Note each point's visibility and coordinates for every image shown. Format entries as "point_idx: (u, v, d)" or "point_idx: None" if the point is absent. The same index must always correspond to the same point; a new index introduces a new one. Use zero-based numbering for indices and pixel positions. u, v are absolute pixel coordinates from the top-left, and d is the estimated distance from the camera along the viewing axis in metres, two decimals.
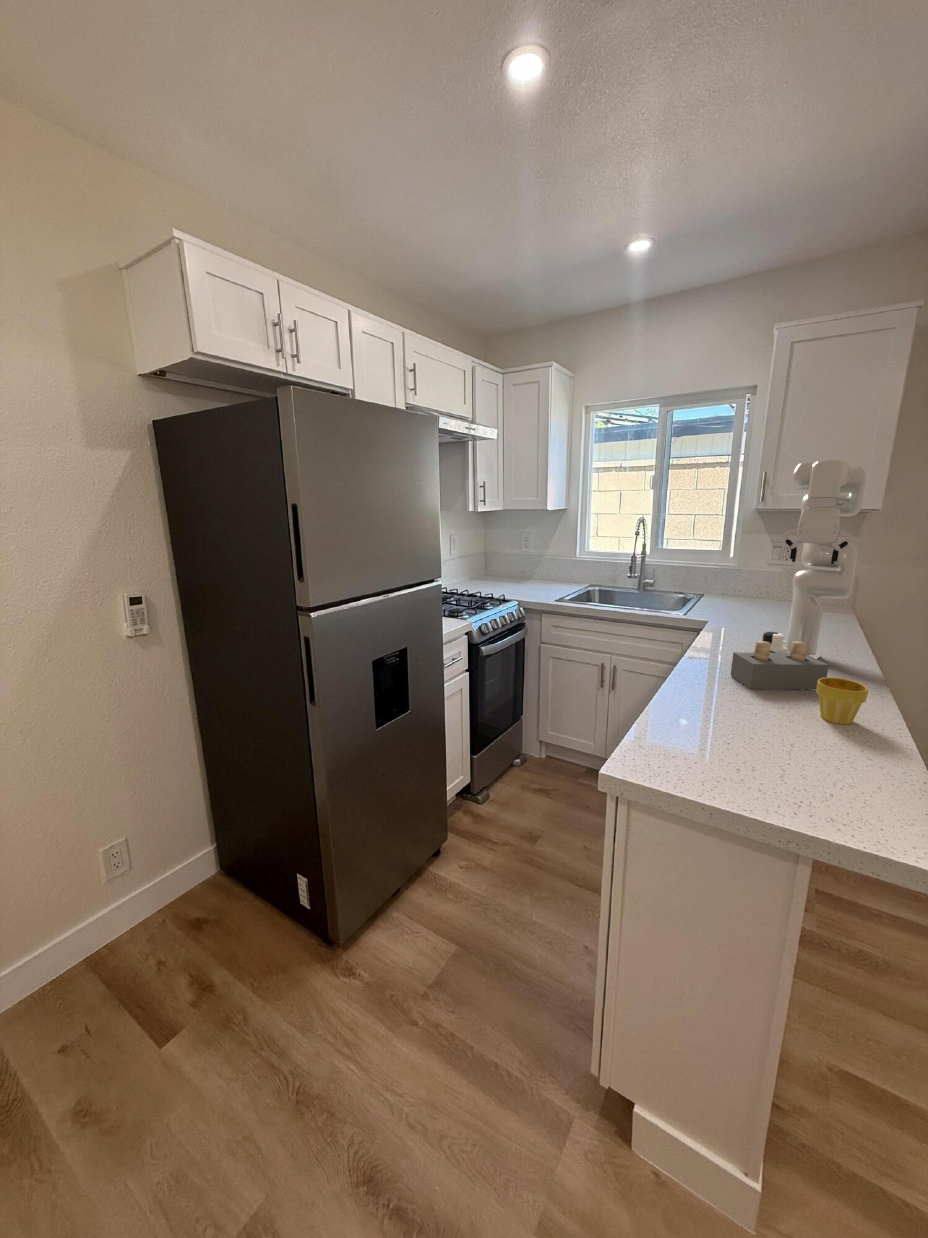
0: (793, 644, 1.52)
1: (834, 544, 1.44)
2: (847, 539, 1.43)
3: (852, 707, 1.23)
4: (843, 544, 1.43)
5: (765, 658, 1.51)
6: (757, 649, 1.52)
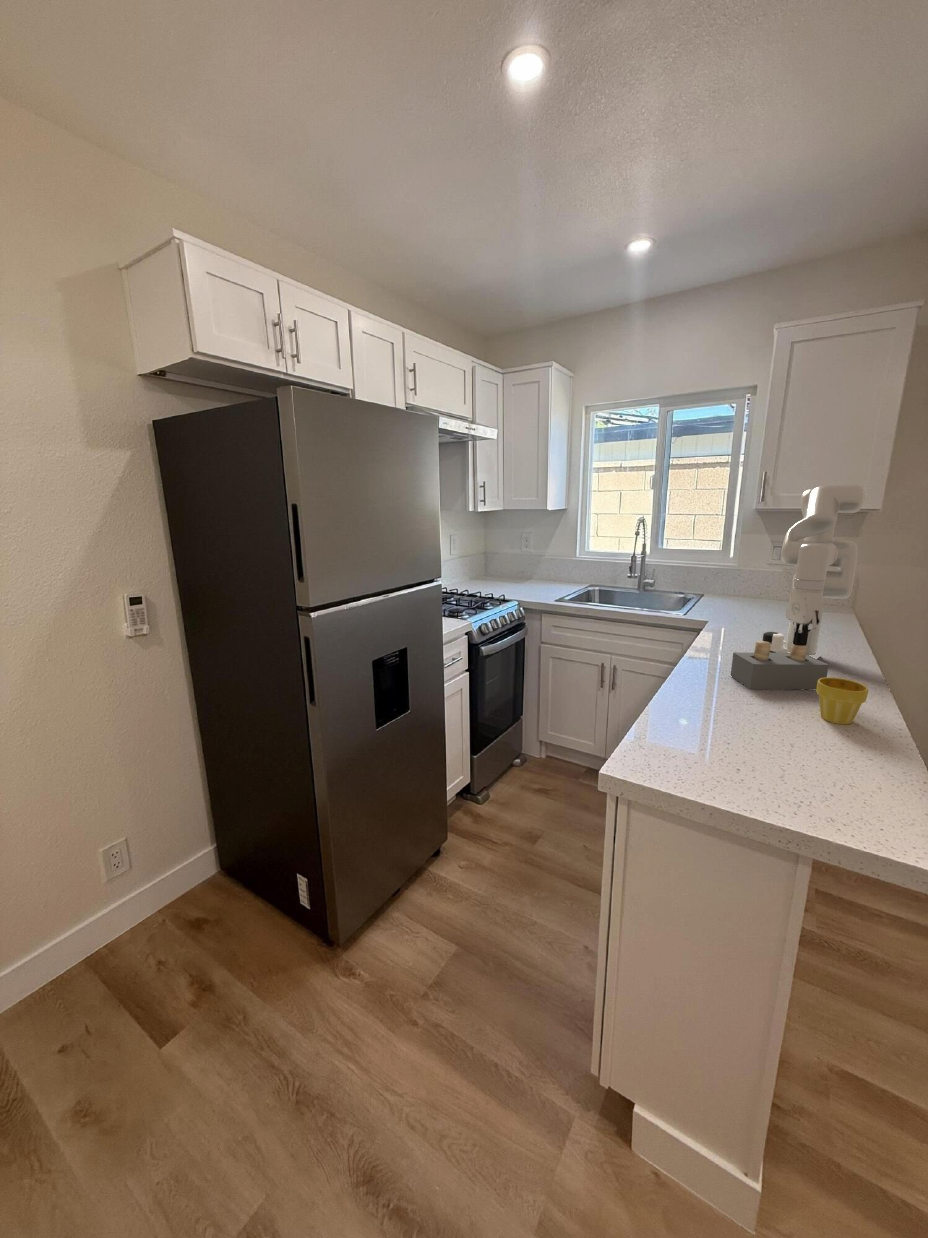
0: (793, 646, 1.52)
1: None
2: None
3: (852, 707, 1.23)
4: None
5: (765, 658, 1.51)
6: (757, 649, 1.52)
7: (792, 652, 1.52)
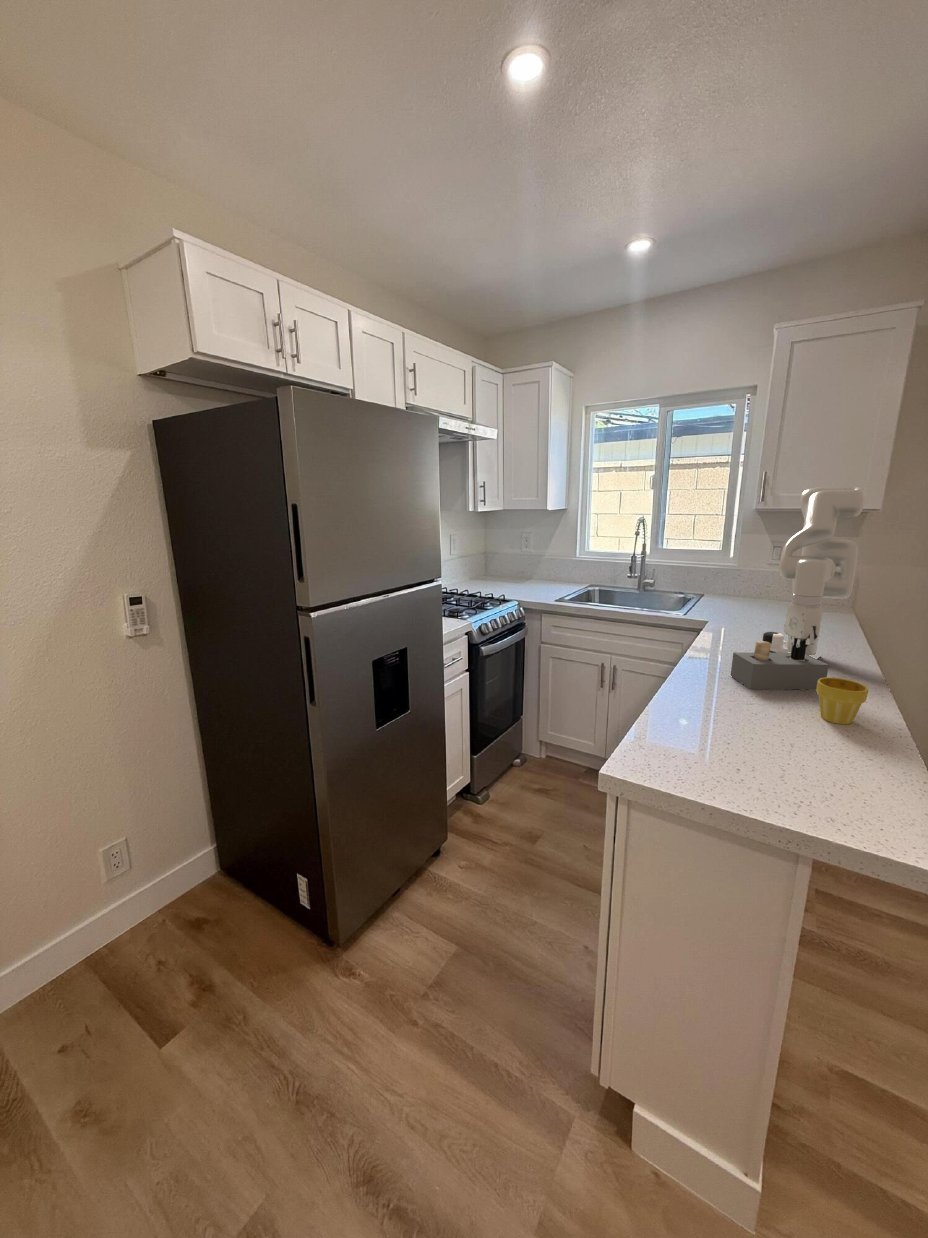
0: None
1: None
2: None
3: (852, 707, 1.23)
4: None
5: (765, 658, 1.51)
6: (757, 649, 1.52)
7: None
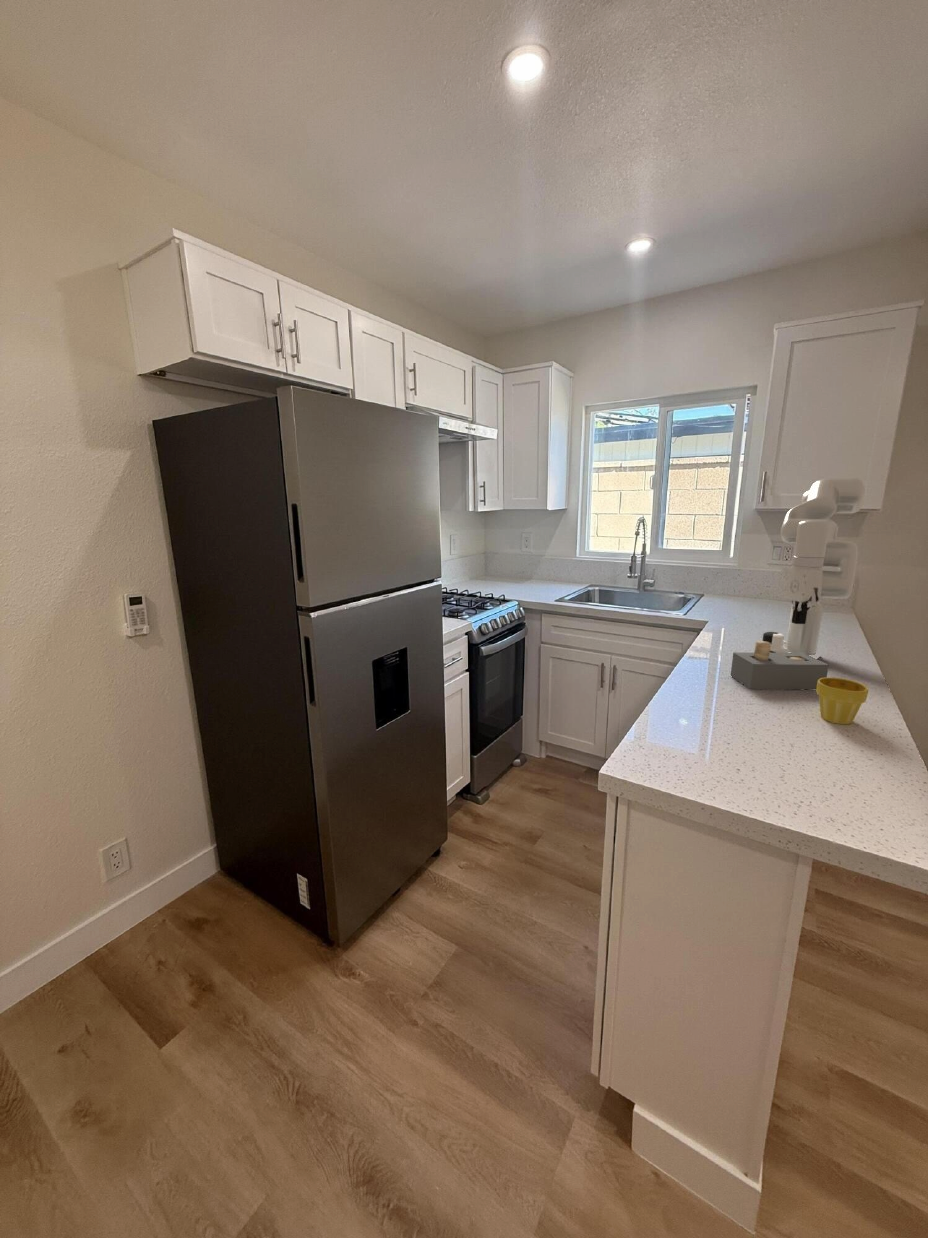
0: None
1: None
2: None
3: (852, 707, 1.23)
4: None
5: (765, 658, 1.51)
6: (757, 649, 1.52)
7: None
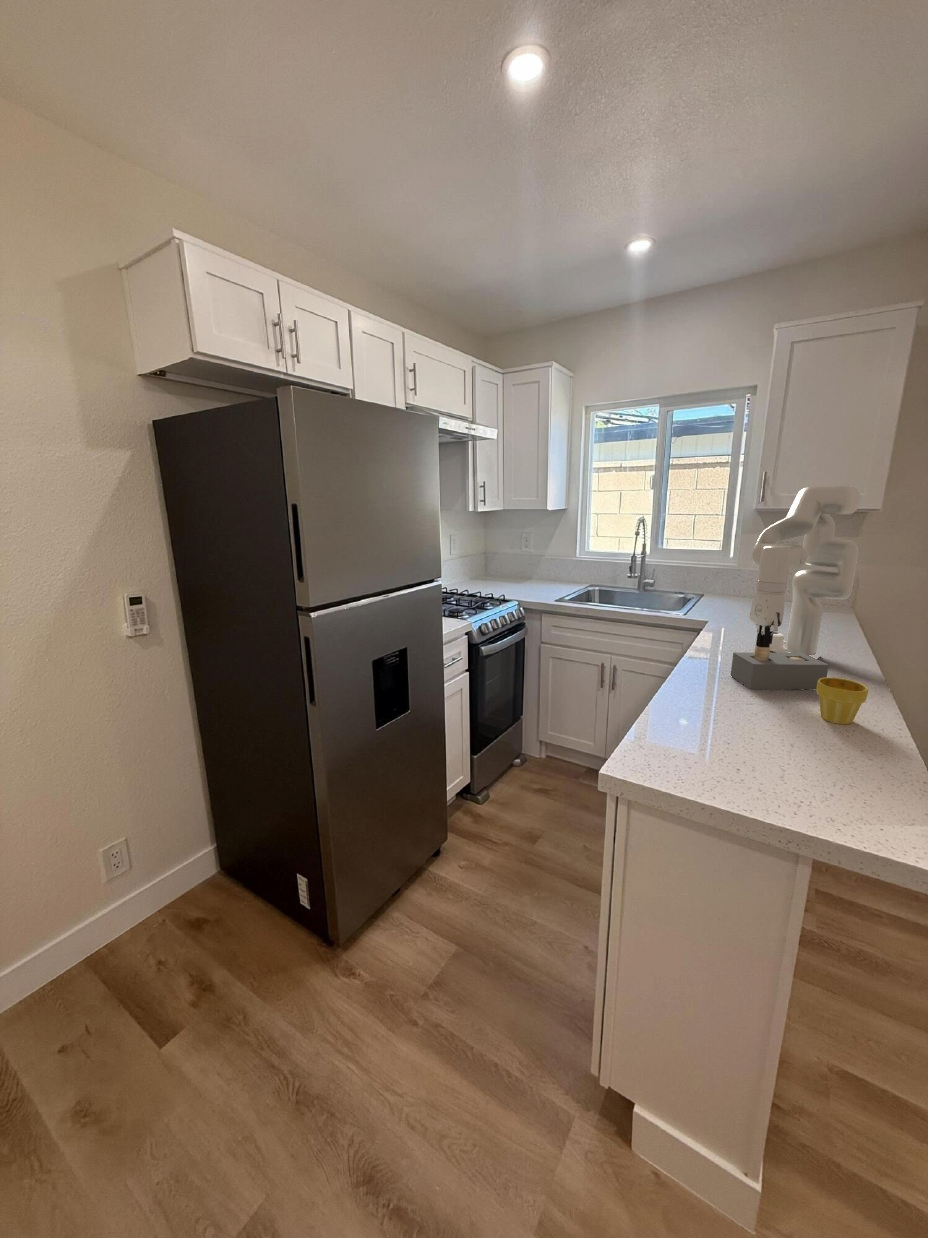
0: None
1: None
2: None
3: (852, 707, 1.23)
4: None
5: None
6: (757, 653, 1.52)
7: None
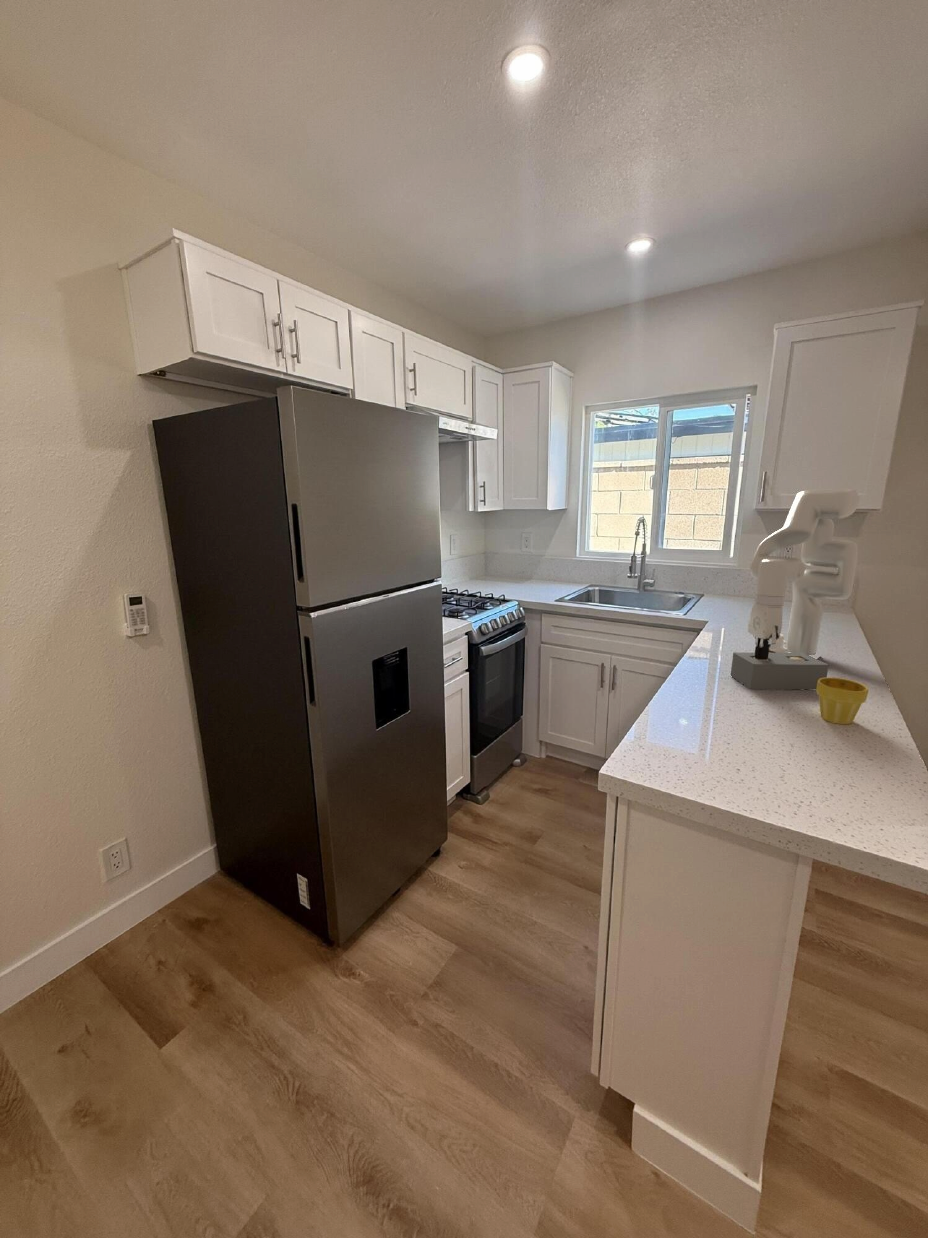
0: None
1: None
2: None
3: (852, 707, 1.23)
4: None
5: None
6: None
7: None
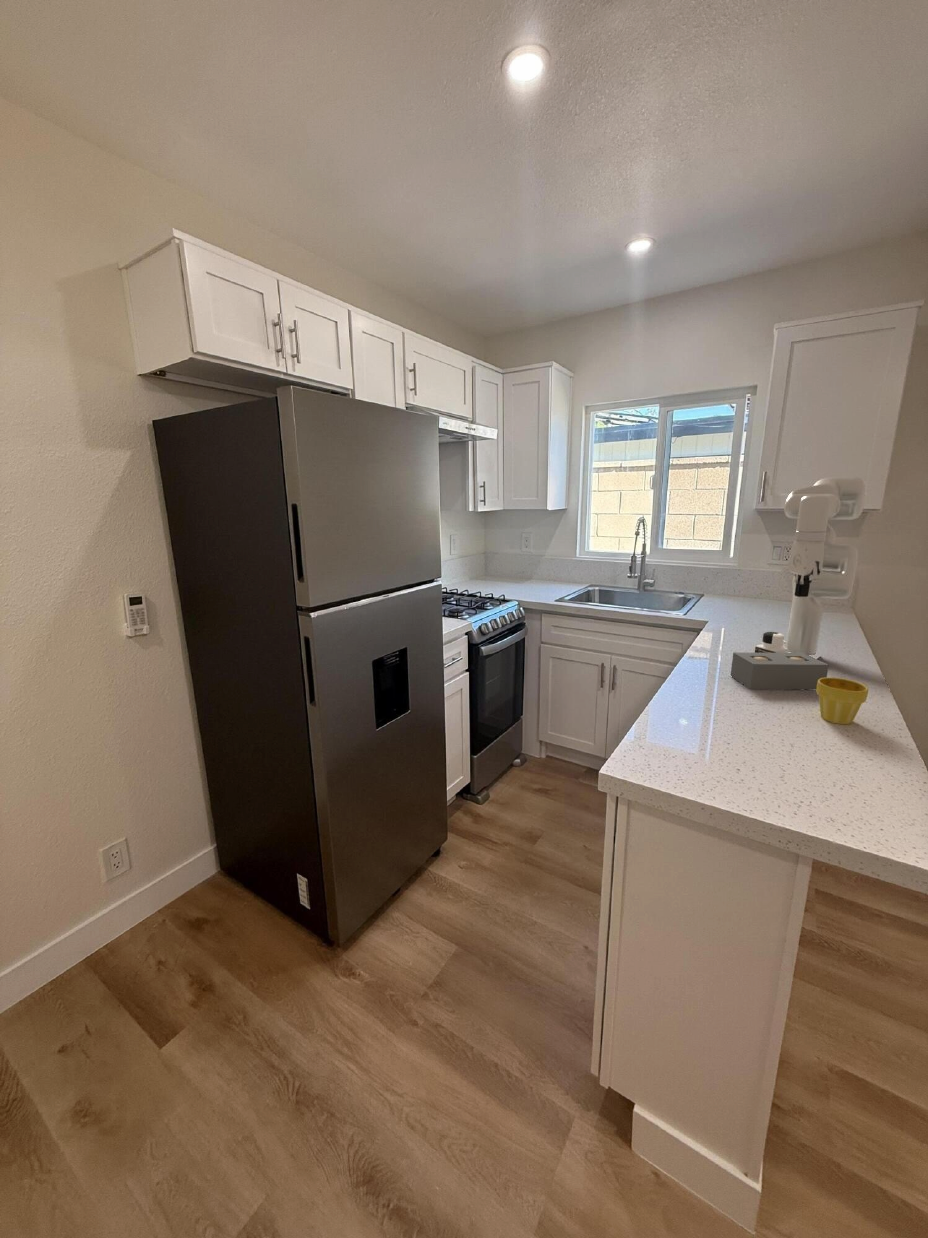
0: None
1: None
2: None
3: (852, 707, 1.23)
4: None
5: None
6: None
7: None
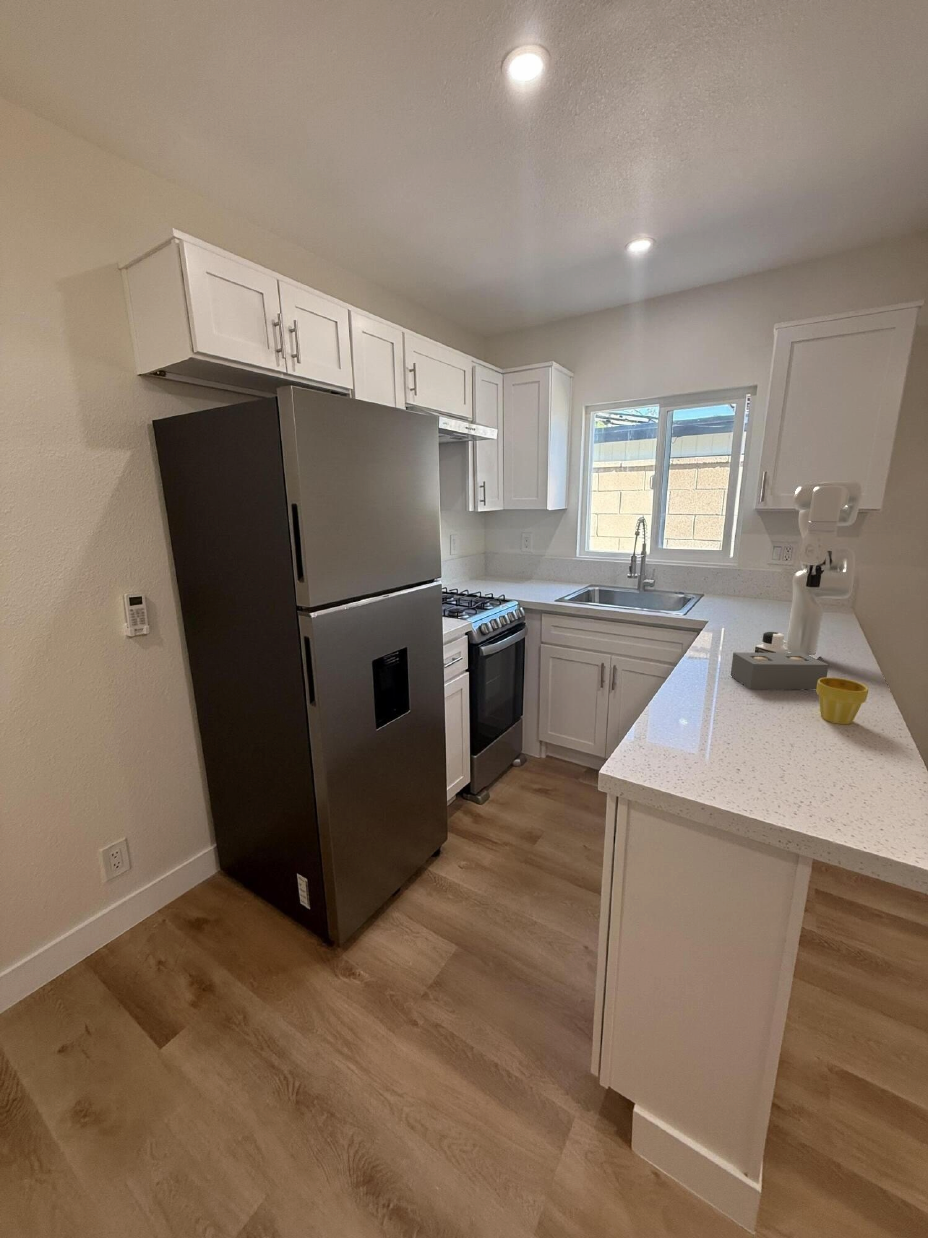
0: None
1: None
2: None
3: (852, 707, 1.23)
4: None
5: None
6: None
7: None
